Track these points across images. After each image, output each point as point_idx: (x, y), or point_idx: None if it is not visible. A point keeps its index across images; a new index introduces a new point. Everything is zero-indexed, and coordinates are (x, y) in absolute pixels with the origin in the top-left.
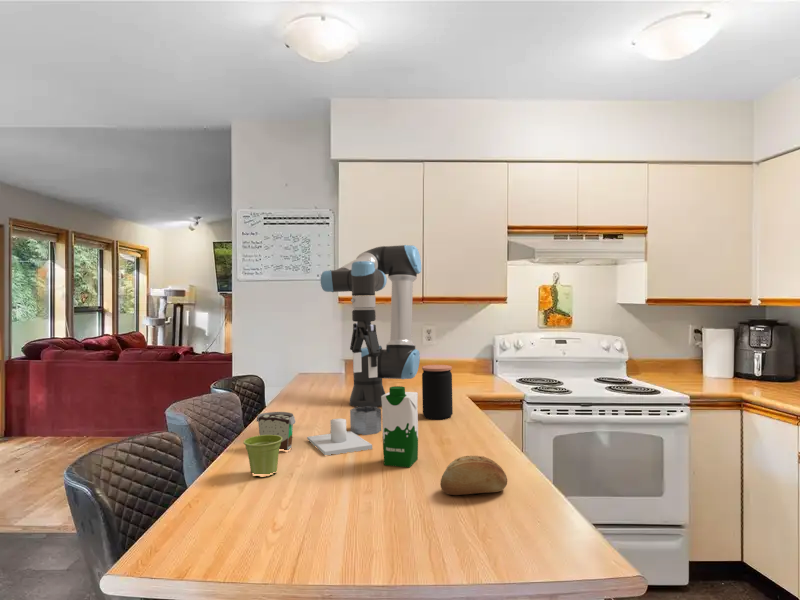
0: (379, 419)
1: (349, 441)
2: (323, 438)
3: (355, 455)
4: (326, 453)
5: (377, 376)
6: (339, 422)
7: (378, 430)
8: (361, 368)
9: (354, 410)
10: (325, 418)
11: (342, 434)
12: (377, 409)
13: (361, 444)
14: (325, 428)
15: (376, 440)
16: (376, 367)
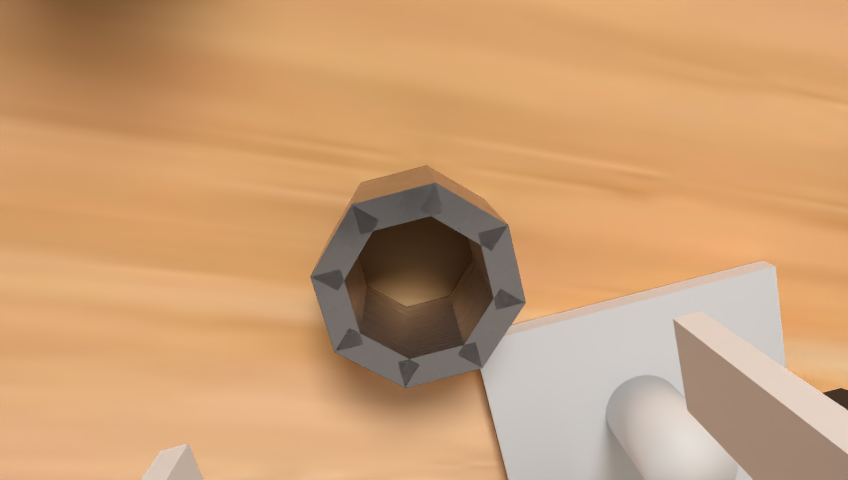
0: (456, 188)
1: (675, 363)
2: (579, 472)
3: (823, 341)
4: None
5: (705, 314)
6: (735, 466)
7: (464, 188)
8: (169, 473)
9: (432, 363)
10: (56, 443)
11: None
12: (444, 209)
13: (748, 314)
14: (302, 447)
15: (620, 220)
16: (779, 376)
